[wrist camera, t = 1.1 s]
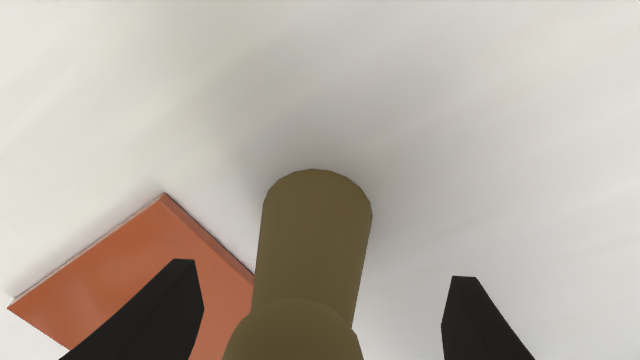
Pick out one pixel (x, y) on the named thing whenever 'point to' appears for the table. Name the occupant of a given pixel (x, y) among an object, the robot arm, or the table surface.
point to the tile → (140, 279)
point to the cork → (306, 271)
